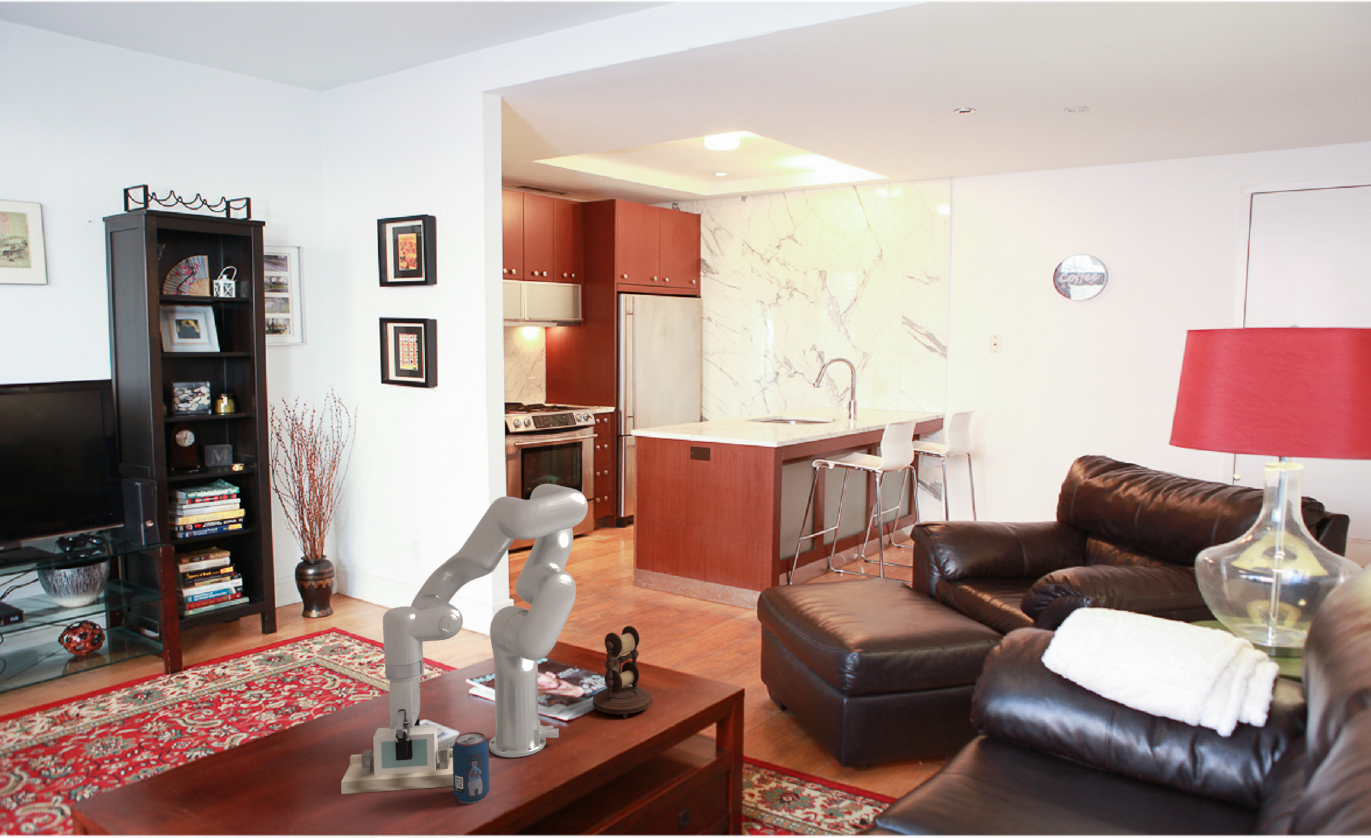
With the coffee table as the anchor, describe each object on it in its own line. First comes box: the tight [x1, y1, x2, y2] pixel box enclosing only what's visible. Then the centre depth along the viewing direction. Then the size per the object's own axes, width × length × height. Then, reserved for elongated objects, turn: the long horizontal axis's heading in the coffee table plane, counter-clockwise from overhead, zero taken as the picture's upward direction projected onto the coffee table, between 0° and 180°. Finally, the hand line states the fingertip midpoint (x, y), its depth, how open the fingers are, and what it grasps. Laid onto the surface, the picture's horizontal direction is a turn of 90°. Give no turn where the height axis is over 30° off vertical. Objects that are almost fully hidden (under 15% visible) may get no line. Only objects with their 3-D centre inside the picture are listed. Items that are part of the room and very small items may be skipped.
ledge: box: [340, 743, 453, 795], centre depth 182 cm, size 24×9×6 cm, turn 98°
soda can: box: [452, 731, 490, 805], centre depth 174 cm, size 7×7×12 cm
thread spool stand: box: [592, 625, 653, 720], centre depth 218 cm, size 15×15×20 cm
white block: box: [372, 724, 439, 776], centre depth 181 cm, size 12×4×8 cm, turn 98°
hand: (408, 748), depth 181 cm, fingers open, 9 cm apart
